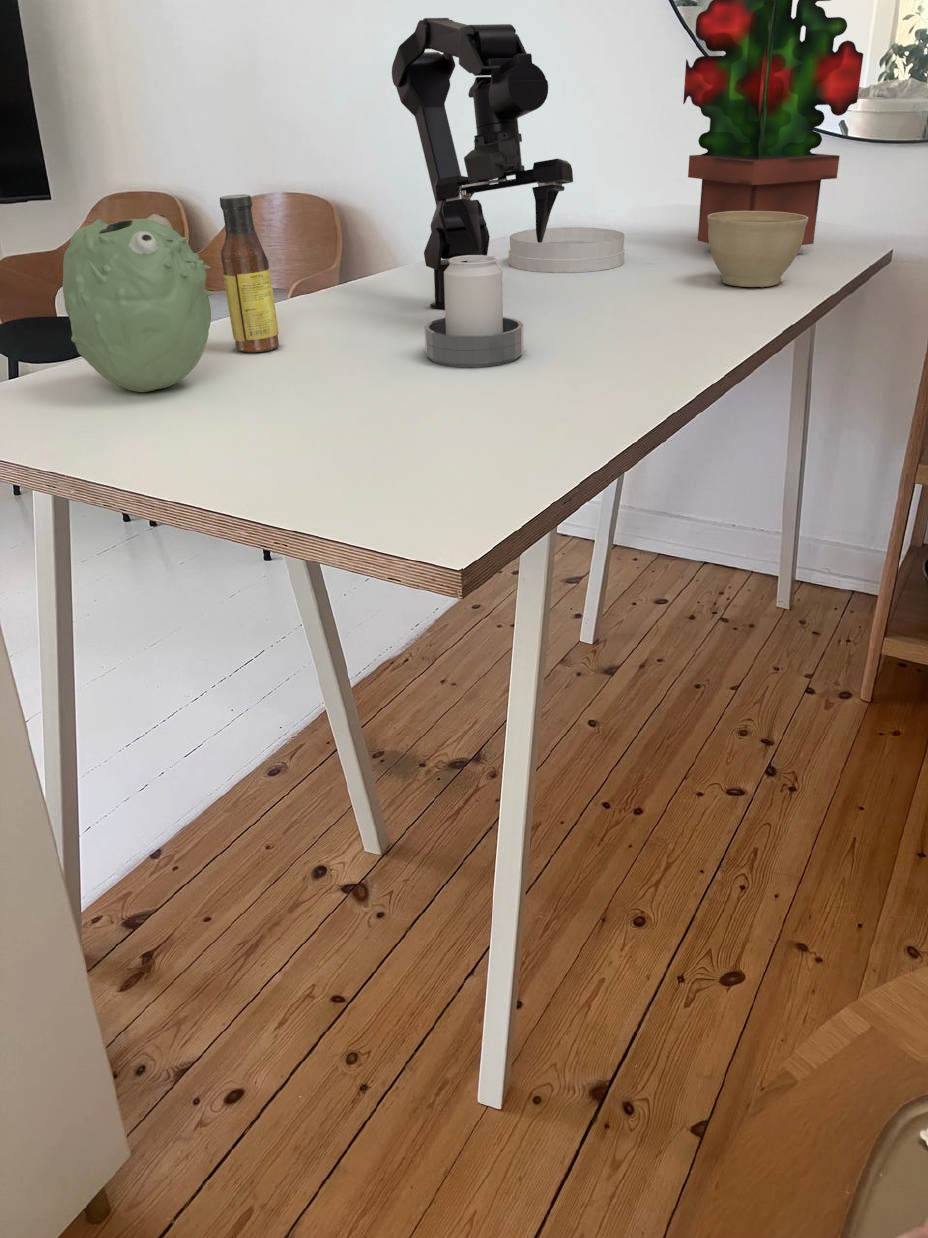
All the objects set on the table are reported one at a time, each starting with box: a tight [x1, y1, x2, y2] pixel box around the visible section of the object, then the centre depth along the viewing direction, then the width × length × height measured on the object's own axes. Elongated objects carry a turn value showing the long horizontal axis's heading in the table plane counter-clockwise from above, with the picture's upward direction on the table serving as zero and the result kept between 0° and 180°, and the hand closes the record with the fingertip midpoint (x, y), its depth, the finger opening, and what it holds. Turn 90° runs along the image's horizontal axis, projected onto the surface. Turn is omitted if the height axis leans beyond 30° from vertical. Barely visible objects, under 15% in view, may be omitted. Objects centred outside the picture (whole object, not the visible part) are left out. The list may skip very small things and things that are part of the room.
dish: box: [508, 226, 626, 274], centre depth 203 cm, size 22×22×5 cm
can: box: [444, 254, 504, 336], centre depth 137 cm, size 8×8×12 cm
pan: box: [423, 316, 524, 368], centre depth 139 cm, size 13×13×4 cm
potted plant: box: [682, 0, 864, 246], centre depth 198 cm, size 22×22×45 cm
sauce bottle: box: [219, 193, 280, 353], centre depth 142 cm, size 7×6×20 cm
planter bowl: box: [708, 211, 808, 288], centre depth 178 cm, size 16×16×11 cm
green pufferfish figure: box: [62, 213, 215, 393], centre depth 125 cm, size 16×19×20 cm
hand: (508, 246), depth 149 cm, fingers open, 9 cm apart
